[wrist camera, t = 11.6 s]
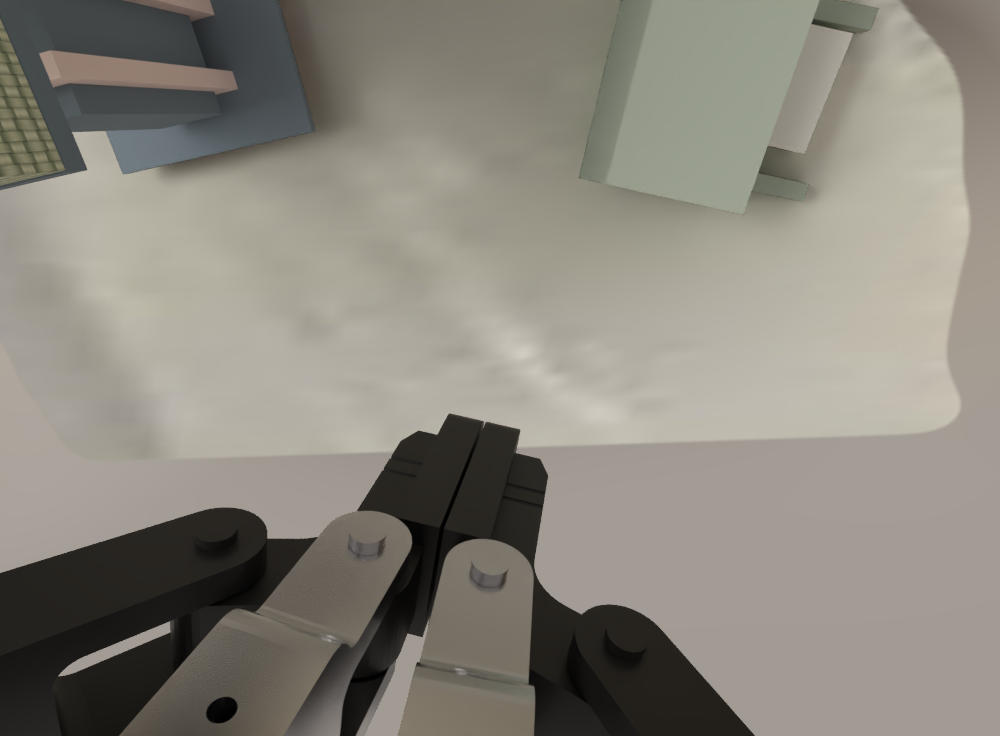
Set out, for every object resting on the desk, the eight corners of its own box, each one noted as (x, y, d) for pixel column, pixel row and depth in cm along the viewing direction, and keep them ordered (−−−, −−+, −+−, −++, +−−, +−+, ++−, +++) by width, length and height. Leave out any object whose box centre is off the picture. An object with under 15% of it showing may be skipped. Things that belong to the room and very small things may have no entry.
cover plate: (658, 0, 34) (662, -10, 32) (833, 39, 34) (853, 33, 31) (626, 111, 37) (628, 111, 34) (789, 151, 36) (804, 154, 34)
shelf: (636, -55, 33) (641, -86, 28) (875, -9, 32) (926, -32, 27) (582, 169, 38) (578, 178, 33) (789, 215, 37) (818, 231, 32)
